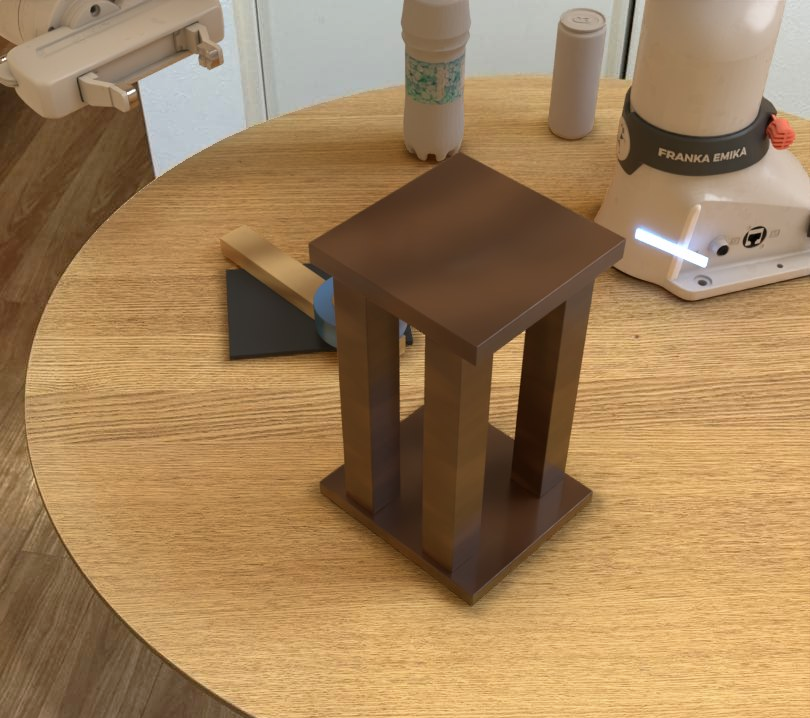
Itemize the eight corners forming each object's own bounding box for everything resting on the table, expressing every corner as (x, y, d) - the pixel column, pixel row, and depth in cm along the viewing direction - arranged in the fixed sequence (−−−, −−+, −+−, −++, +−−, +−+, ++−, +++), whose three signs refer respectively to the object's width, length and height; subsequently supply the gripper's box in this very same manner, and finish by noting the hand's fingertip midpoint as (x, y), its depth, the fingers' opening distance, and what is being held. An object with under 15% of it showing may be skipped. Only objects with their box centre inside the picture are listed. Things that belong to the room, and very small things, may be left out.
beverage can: (590, 143, 121) (605, 32, 112) (544, 139, 122) (555, 28, 113) (594, 119, 124) (609, 9, 115) (550, 114, 125) (561, 4, 116)
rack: (319, 491, 90) (296, 236, 72) (440, 401, 97) (448, 145, 78) (471, 606, 83) (490, 355, 65) (591, 501, 90) (640, 245, 71)
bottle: (474, 161, 119) (484, -36, 104) (411, 172, 118) (412, -26, 102) (453, 127, 123) (460, -68, 108) (393, 137, 122) (391, -58, 107)
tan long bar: (200, 264, 108) (193, 226, 104) (266, 228, 111) (262, 190, 108) (358, 381, 98) (357, 343, 94) (426, 338, 101) (427, 299, 98)
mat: (396, 260, 109) (396, 256, 108) (413, 344, 101) (413, 340, 101) (226, 274, 108) (225, 269, 107) (230, 360, 100) (229, 356, 100)
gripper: (-30, 33, 98) (66, 92, 92) (160, -47, 108) (258, 2, 101) (-9, 102, 103) (84, 162, 97) (171, 20, 112) (266, 70, 106)
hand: (175, 79), depth 99 cm, fingers open, 8 cm apart
